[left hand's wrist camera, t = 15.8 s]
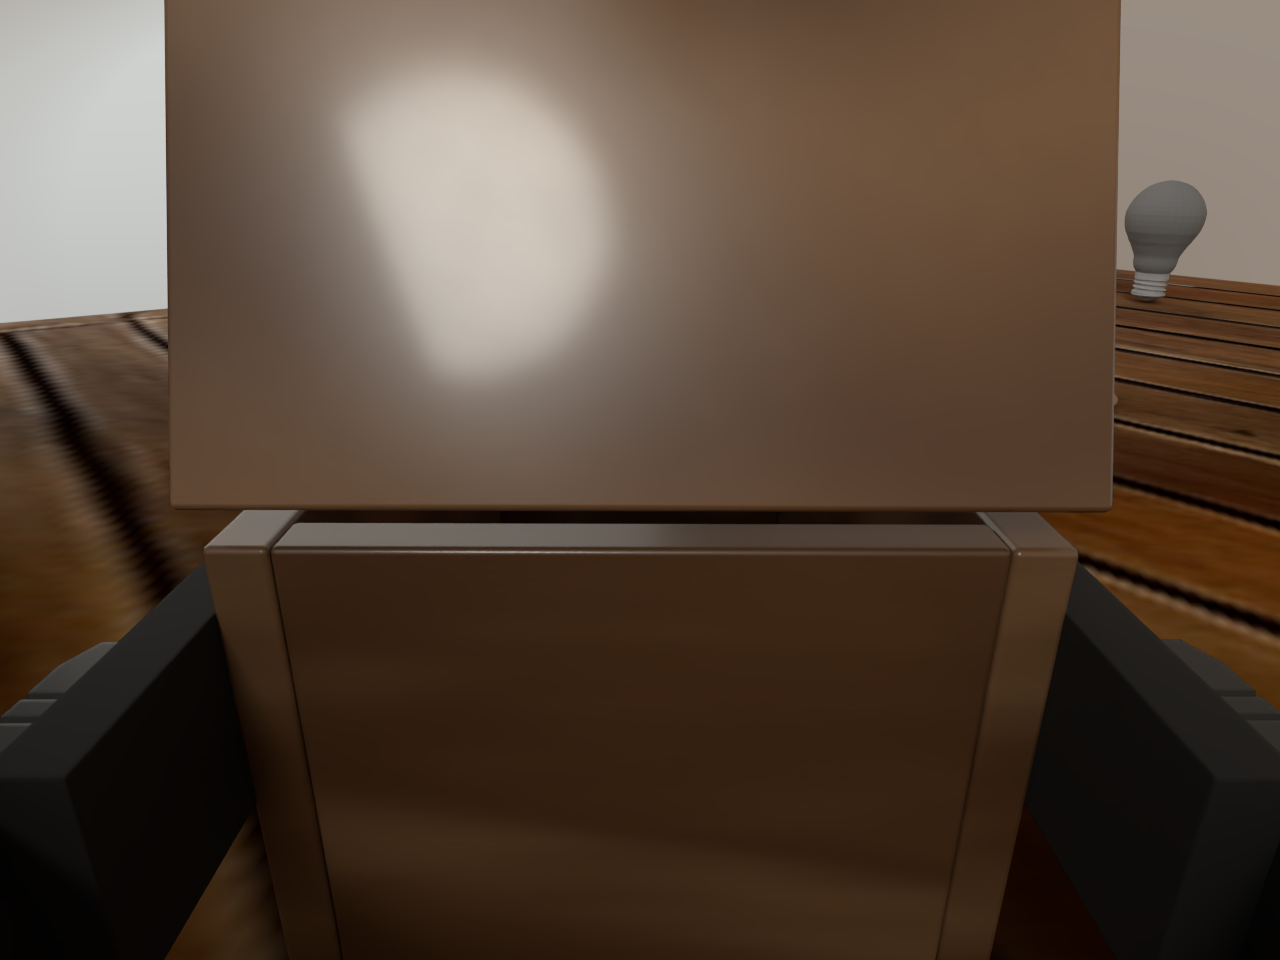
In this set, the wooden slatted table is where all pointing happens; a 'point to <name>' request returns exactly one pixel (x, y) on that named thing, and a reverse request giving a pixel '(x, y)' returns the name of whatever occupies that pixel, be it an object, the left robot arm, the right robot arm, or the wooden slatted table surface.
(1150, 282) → the light bulb
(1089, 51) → the lid
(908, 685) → the chest
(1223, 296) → the wooden slatted table surface
